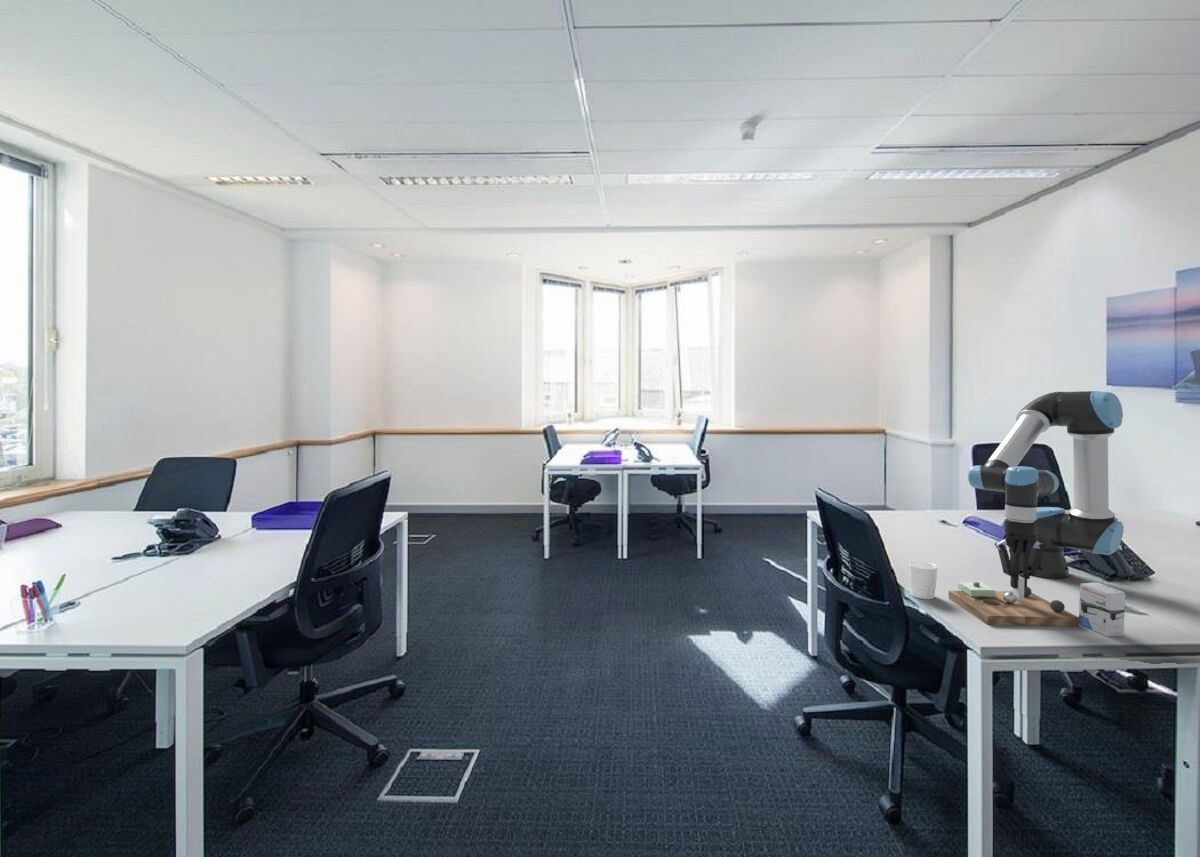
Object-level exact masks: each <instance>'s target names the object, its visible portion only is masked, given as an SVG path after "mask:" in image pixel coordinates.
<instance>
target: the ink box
mask: <svg viewBox="0 0 1200 857" xmlns="http://www.w3.org/2000/svg"><path fill="white" fill-rule="evenodd" d="M1078 606H1079V607H1078V608H1079V610H1078V617H1079V626H1083V627H1085V628H1087V629H1090V630H1092V631H1093V632H1097V633H1099V634H1101V635H1103V636H1106V637H1123V636H1124V635H1125V633H1124V632H1125V614H1126V593H1125V592H1124V591H1121V590H1120V589H1116V588H1114V587H1112V586H1111V587H1110V586H1109V585H1105V584H1103V583H1100V582H1083V583H1082V582H1081V583H1080V585H1079V605H1078Z"/></svg>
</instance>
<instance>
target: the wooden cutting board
mask: <svg viewBox="0 0 1200 857" xmlns="http://www.w3.org/2000/svg"><path fill="white" fill-rule="evenodd" d="M1007 592H1010V593H1013V590H1012V591H1009V590H1007V591H1004V590H995V597H983V596H970V595H968V594H966V593H965V592H963V591H962V590H948V599H949V600H951V601H952V602H953V603H955V604H957V605H958V606H959V607H961V608H962V609H964V610H965V611H967V612H968V613H969V614H972V616H974V617H975V618H977V619H978V620H980V621H981V622H983V623H984V624H986V625H995V626H997V625H999V626H1002V625H1003V626H1041V627H1042V626H1043V627H1045V626H1046V627H1048V626H1050V627H1054V626H1055V627H1080V624H1079V615H1078V616H1077V615H1075V614H1074V613H1072V612H1069V611H1068V610H1066V609H1064V610H1063V611H1062V612H1056V611H1054V610H1052V609H1051V607H1050V603H1051V602H1052V601H1048V600H1047V599H1044V598H1043V597H1041V596H1039V595H1037V594H1035V593H1033V592H1032V593H1031V595H1030V596H1027V597H1026V596H1024V601H1019V600H1016V602H1015V603H1012V604H1010V603H1007V602H1005V601H1004V599H1003V595H1004V594H1005V593H1007Z"/></svg>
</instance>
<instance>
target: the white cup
mask: <svg viewBox="0 0 1200 857" xmlns="http://www.w3.org/2000/svg"><path fill="white" fill-rule="evenodd" d="M937 578H938V566H937V564H934V563H931V562H925V561H910V562H908V579H909V591H910V592H909V593H910V595H911V596H912V597H913V598H916V599H920V600H921V599H922V600H934V599H935V597H936V589H937V588H936V587H937Z"/></svg>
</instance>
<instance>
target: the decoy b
mask: <svg viewBox="0 0 1200 857" xmlns="http://www.w3.org/2000/svg"><path fill="white" fill-rule="evenodd" d="M1050 602H1051V603H1050V607H1051V609H1052V610H1054V611H1056V612H1062V611H1063V610H1065V608H1066V607H1065V604H1064V603H1063V601H1060V600H1058V599H1054V600H1052V601H1050Z"/></svg>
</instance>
